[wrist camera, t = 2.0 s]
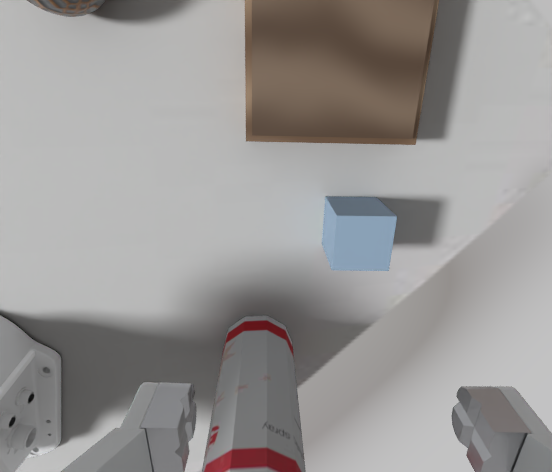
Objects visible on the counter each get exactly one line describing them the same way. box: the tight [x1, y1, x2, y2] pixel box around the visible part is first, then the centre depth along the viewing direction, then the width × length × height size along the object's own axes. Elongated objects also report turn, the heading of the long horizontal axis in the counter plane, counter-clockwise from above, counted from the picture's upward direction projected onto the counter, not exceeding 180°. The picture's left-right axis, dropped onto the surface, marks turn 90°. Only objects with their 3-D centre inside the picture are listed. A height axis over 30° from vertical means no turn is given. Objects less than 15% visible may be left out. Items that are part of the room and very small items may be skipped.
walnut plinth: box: [245, 0, 439, 145], centre depth 28 cm, size 14×14×4 cm
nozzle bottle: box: [202, 315, 305, 472], centre depth 29 cm, size 8×8×25 cm
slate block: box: [322, 196, 397, 271], centre depth 33 cm, size 5×5×6 cm
